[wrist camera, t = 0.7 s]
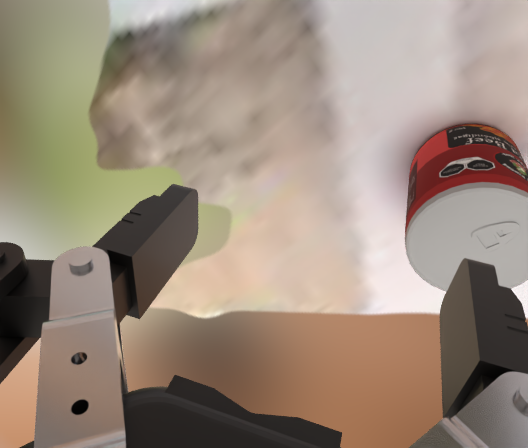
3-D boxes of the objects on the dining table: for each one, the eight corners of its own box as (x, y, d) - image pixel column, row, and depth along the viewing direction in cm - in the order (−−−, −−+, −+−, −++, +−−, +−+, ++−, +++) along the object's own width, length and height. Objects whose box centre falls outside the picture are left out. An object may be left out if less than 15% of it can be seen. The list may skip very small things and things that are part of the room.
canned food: (544, 159, 32) (590, 242, 23) (461, 227, 36) (472, 317, 28) (463, 98, 31) (478, 158, 22) (389, 175, 36) (378, 249, 27)
